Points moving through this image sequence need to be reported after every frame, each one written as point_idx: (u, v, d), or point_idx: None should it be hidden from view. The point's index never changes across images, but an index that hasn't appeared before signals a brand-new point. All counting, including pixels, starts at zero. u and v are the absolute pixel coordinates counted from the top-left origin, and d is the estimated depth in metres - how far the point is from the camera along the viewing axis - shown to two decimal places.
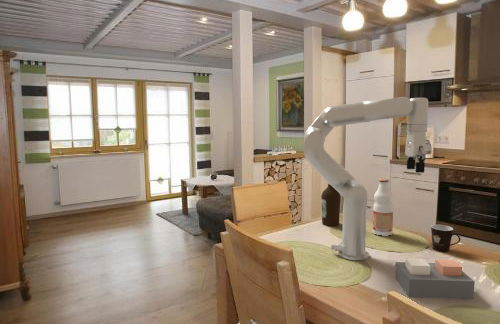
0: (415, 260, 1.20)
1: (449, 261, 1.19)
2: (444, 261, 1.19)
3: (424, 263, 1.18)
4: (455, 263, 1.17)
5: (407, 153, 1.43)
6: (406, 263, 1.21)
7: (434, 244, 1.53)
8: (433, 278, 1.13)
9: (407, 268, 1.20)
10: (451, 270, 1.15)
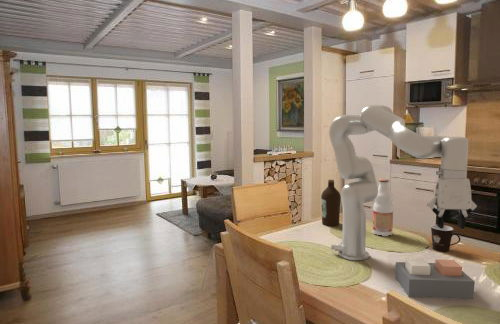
0: (415, 260, 1.20)
1: (449, 261, 1.19)
2: (444, 261, 1.19)
3: (424, 263, 1.18)
4: (455, 263, 1.17)
5: (451, 206, 1.13)
6: (406, 263, 1.21)
7: (434, 244, 1.53)
8: (433, 278, 1.13)
9: (407, 268, 1.20)
10: (451, 270, 1.15)
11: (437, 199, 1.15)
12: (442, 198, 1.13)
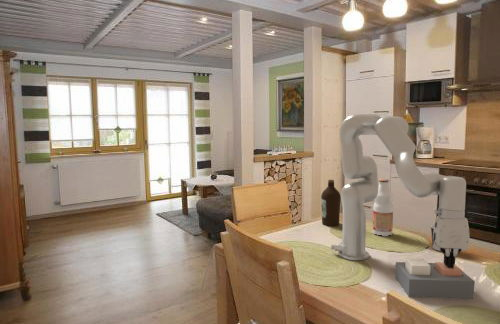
0: (415, 260, 1.20)
1: None
2: (444, 264, 1.19)
3: (424, 263, 1.18)
4: (455, 266, 1.18)
5: (449, 245, 1.14)
6: (406, 263, 1.21)
7: None
8: (433, 278, 1.13)
9: (407, 268, 1.20)
10: (451, 273, 1.15)
11: (436, 238, 1.16)
12: (441, 237, 1.14)
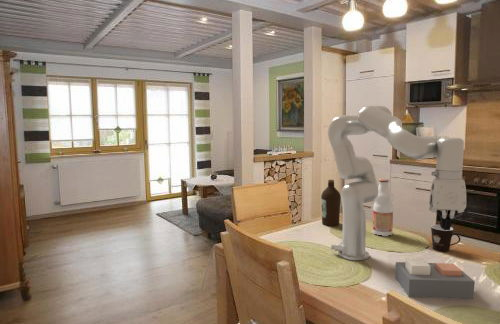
0: (415, 260, 1.20)
1: (449, 265, 1.19)
2: (444, 265, 1.19)
3: (424, 263, 1.18)
4: (455, 267, 1.18)
5: (446, 207, 1.13)
6: (406, 263, 1.21)
7: (434, 244, 1.53)
8: (433, 278, 1.13)
9: (407, 268, 1.20)
10: (451, 274, 1.15)
11: (432, 200, 1.15)
12: (437, 199, 1.13)
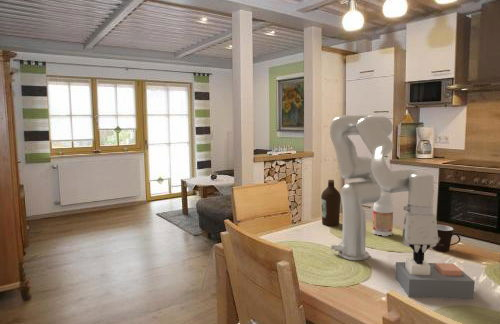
0: None
1: (449, 265, 1.19)
2: (444, 265, 1.19)
3: (424, 263, 1.18)
4: (455, 267, 1.18)
5: (418, 241, 1.15)
6: (406, 263, 1.21)
7: None
8: (433, 278, 1.13)
9: (407, 268, 1.20)
10: (451, 274, 1.15)
11: (405, 234, 1.17)
12: (409, 233, 1.15)
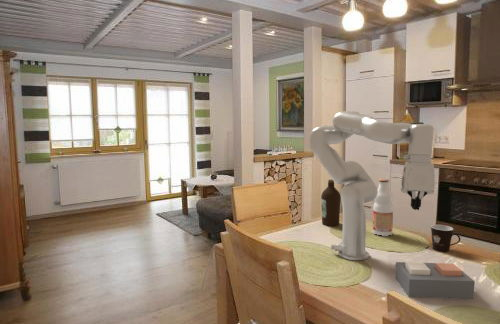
0: (415, 264, 1.20)
1: (449, 265, 1.19)
2: (444, 265, 1.19)
3: (424, 267, 1.18)
4: (455, 267, 1.18)
5: (415, 188, 1.23)
6: (406, 267, 1.21)
7: (434, 244, 1.53)
8: (433, 278, 1.13)
9: None
10: (451, 274, 1.15)
11: (403, 181, 1.24)
12: (407, 180, 1.23)
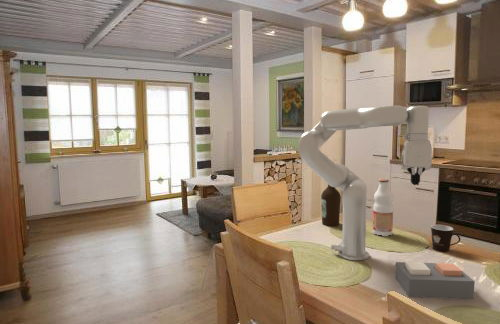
0: (415, 264, 1.20)
1: (449, 265, 1.19)
2: (444, 265, 1.19)
3: (424, 267, 1.18)
4: (455, 267, 1.18)
5: (414, 164, 1.34)
6: (406, 267, 1.21)
7: (434, 244, 1.53)
8: (433, 278, 1.13)
9: None
10: (451, 274, 1.15)
11: (403, 159, 1.35)
12: (407, 157, 1.34)
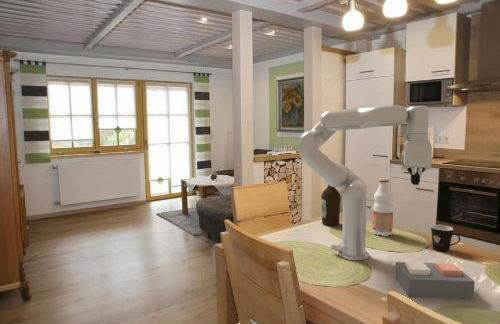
0: (415, 264, 1.20)
1: (449, 265, 1.19)
2: (444, 265, 1.19)
3: (424, 267, 1.18)
4: (455, 267, 1.18)
5: (414, 164, 1.34)
6: (406, 267, 1.21)
7: (434, 244, 1.53)
8: (433, 278, 1.13)
9: None
10: (451, 274, 1.15)
11: (403, 159, 1.35)
12: (407, 157, 1.34)
